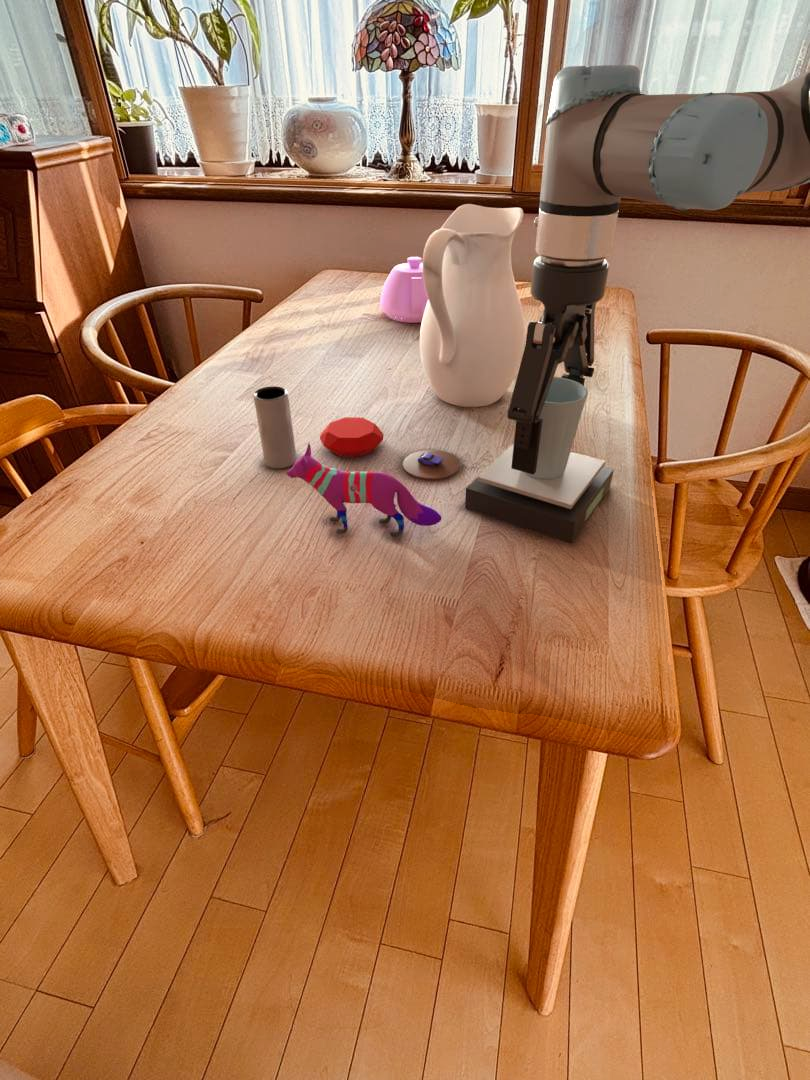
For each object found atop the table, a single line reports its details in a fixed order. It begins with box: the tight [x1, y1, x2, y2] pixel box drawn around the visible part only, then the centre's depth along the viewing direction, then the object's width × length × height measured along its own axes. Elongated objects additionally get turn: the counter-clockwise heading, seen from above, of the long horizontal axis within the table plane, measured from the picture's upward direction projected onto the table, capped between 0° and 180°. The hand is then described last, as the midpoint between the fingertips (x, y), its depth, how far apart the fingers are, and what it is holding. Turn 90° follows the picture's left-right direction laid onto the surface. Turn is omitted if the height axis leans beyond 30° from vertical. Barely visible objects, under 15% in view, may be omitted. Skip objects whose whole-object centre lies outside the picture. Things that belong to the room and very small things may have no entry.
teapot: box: [379, 256, 428, 324], centre depth 140 cm, size 22×16×12 cm
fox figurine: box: [285, 442, 443, 538], centre depth 72 cm, size 4×18×10 cm, turn 85°
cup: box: [524, 376, 589, 479], centre depth 74 cm, size 8×8×10 cm
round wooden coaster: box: [402, 449, 462, 482], centre depth 87 cm, size 8×8×2 cm
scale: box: [464, 442, 615, 544], centre depth 79 cm, size 14×14×4 cm
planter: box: [252, 385, 298, 469], centre depth 86 cm, size 4×4×10 cm
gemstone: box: [319, 416, 385, 458], centre depth 91 cm, size 9×9×3 cm
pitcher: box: [419, 203, 526, 408], centre depth 96 cm, size 24×17×28 cm
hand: (545, 446), depth 75 cm, fingers open, 12 cm apart
